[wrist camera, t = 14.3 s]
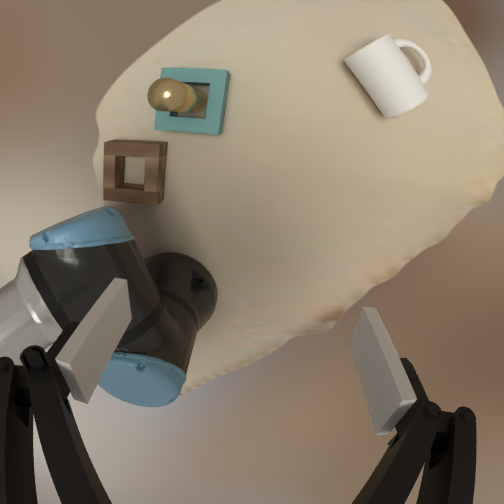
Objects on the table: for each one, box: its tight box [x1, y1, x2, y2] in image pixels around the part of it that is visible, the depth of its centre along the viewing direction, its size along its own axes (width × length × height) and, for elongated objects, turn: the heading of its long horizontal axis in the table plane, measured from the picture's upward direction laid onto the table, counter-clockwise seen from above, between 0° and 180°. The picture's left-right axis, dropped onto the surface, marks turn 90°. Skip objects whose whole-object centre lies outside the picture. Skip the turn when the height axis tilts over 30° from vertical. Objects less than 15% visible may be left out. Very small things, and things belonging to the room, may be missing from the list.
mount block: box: [103, 140, 167, 205], centre depth 41 cm, size 9×9×4 cm
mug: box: [344, 34, 432, 118], centre depth 31 cm, size 12×10×8 cm
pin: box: [148, 77, 207, 113], centre depth 32 cm, size 4×4×14 cm
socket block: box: [154, 68, 230, 135], centre depth 36 cm, size 9×9×4 cm
